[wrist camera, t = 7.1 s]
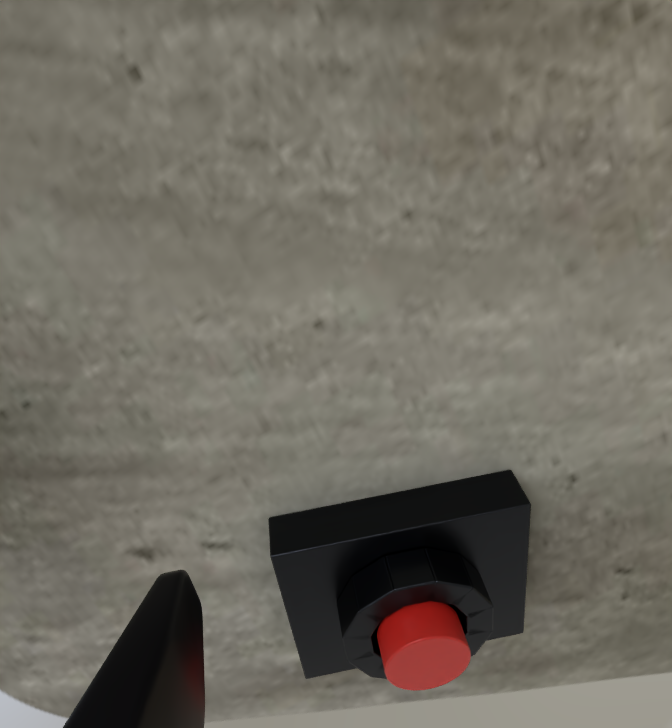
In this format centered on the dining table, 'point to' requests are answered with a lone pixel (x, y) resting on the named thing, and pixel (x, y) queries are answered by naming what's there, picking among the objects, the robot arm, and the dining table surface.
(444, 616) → the button
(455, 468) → the dining table surface
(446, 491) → the button box
